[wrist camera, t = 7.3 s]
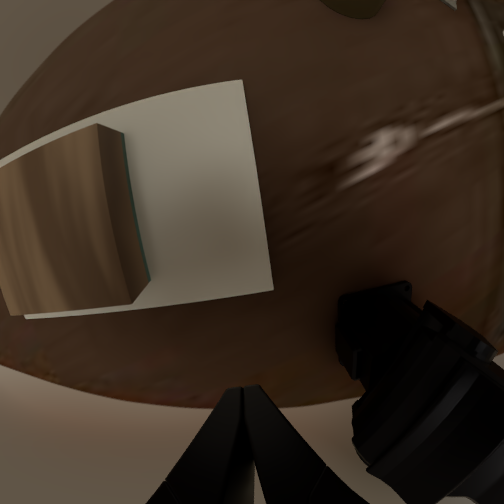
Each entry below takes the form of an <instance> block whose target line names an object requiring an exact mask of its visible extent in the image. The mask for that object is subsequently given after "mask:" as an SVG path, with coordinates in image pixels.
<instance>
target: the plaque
mask: <svg viewBox="0 0 504 504" xmlns="http://www.w3.org/2000/svg"><path fill="white" fill-rule="evenodd" d="M150 281H151V278H150V274H149V270H148V266H147V262H146V257H145V253H144V249H143V244H142V240H141V235H140V231H139V226H138V221H137V216H136V211H135V205H134V200H133V194H132V188H131V182H130V176H129V169H128V162H127V154H126V147H125V138H124V133H122V132H119V131H117V130H114V129H112V128H109V127H106V126H104V125H101V124H98V123H95V124H93V125H90V126H87V127H85V128H82V129H79V130H77V131H74V132H72V133H70V134H67V135H65V136H62V137H60V138H58V139H56V140H53V141H51V142H49V143H47V144H45V145H42V146H40V147H38V148H36V149H34V150H32V151H30V152H28V153H26V154H24V155H22V156H20V157H18V158H17V159H15V160H13V161H11V162H9V163H8V164H6V165H4V166H2V167H1V168H0V286H1V290H2V293H3V296H4V299H5V301H6V304H7V307H8V310H9V312H10V315H11V316H13V315H28V314H40V313H52V312H64V311H74V310H85V309H94V308H104V307H113V306H122V305H130V304H133V302H134V301H135V300H136V299H137V297H138V296H139V295H140V294H141V292H142V291H143V290H144V288H145V287H146V286H147V285H148V283H149V282H150Z"/></svg>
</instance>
